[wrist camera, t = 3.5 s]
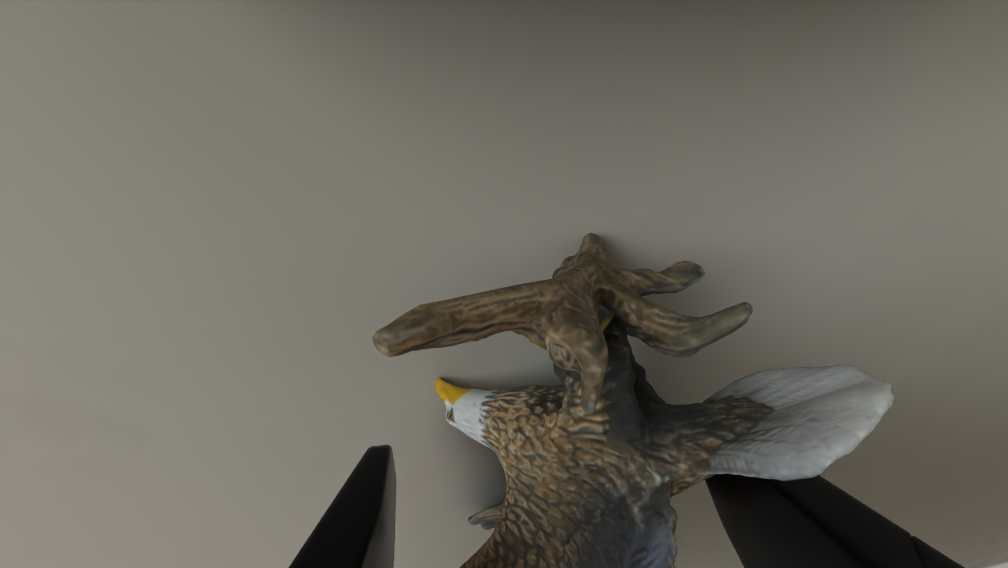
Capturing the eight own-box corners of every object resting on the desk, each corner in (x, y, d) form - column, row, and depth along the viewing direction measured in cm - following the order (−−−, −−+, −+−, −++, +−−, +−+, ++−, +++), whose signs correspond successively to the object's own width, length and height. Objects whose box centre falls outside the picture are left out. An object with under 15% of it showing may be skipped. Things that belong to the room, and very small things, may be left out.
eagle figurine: (247, 240, 7) (296, 670, 10) (714, 548, 2) (553, 1269, 5) (578, 209, 12) (551, 500, 15) (955, 276, 7) (809, 701, 10)
